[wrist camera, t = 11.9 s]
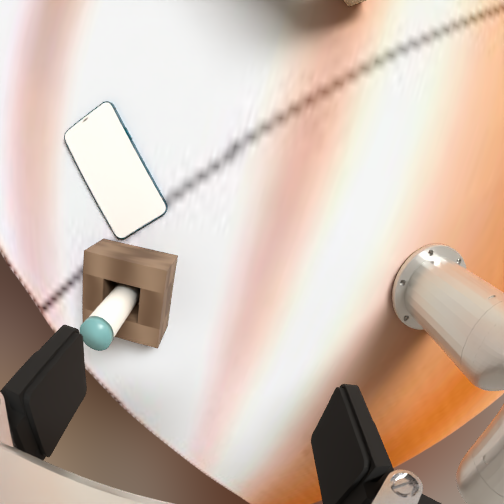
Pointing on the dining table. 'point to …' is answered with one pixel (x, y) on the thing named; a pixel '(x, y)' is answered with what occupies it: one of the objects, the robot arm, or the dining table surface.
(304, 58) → the dining table surface
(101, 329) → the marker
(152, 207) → the smartphone
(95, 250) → the socket block
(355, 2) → the gun
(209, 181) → the dining table surface
